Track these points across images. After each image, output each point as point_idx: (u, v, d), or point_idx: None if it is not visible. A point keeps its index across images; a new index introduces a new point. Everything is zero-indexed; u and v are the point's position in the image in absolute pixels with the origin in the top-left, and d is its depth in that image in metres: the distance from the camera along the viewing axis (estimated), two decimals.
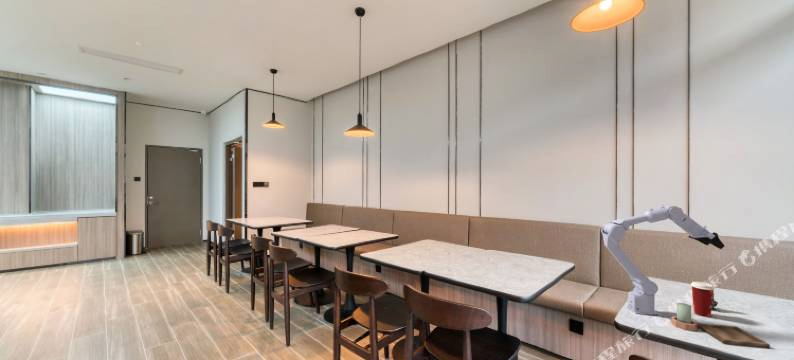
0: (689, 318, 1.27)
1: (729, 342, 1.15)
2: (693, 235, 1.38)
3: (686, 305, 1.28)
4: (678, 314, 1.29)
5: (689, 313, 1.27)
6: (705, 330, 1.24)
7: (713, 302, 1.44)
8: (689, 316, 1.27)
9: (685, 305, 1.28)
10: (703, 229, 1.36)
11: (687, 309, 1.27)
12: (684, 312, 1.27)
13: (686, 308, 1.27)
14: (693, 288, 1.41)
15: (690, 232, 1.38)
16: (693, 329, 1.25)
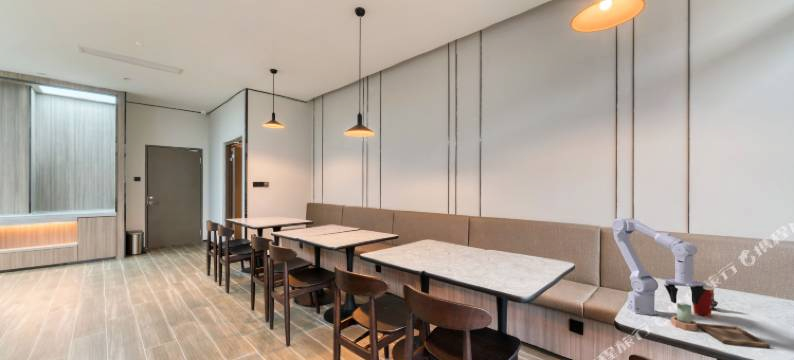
0: (689, 318, 1.27)
1: (729, 342, 1.15)
2: None
3: (686, 305, 1.28)
4: (678, 314, 1.29)
5: (689, 313, 1.27)
6: (705, 330, 1.24)
7: (713, 302, 1.44)
8: (689, 316, 1.27)
9: (685, 305, 1.28)
10: (680, 281, 1.28)
11: (687, 309, 1.27)
12: (684, 312, 1.27)
13: (686, 308, 1.27)
14: None
15: None
16: (693, 329, 1.25)
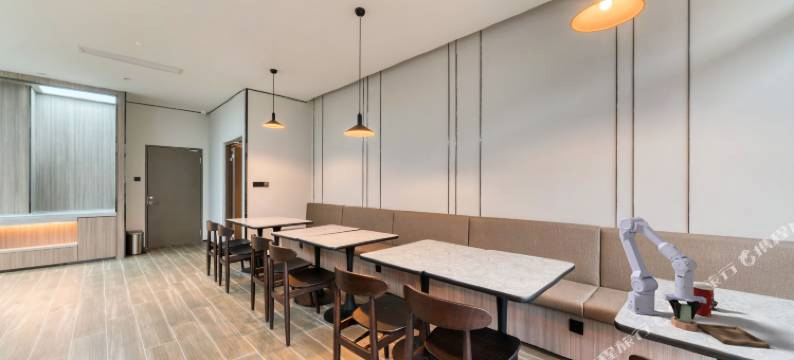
0: (689, 318, 1.27)
1: (729, 342, 1.15)
2: None
3: (686, 305, 1.28)
4: None
5: (689, 313, 1.27)
6: (705, 330, 1.24)
7: (713, 302, 1.44)
8: (689, 316, 1.27)
9: (685, 305, 1.28)
10: (680, 296, 1.28)
11: (687, 309, 1.27)
12: (684, 312, 1.27)
13: (686, 308, 1.27)
14: None
15: None
16: (693, 329, 1.25)
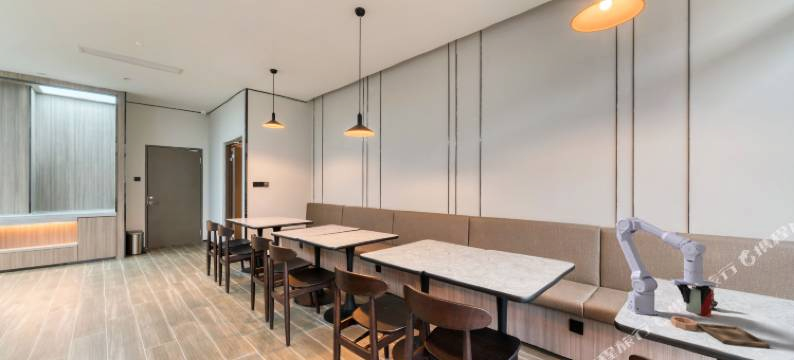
0: (699, 303, 1.25)
1: (729, 342, 1.15)
2: None
3: (695, 290, 1.26)
4: None
5: (699, 298, 1.25)
6: (705, 330, 1.24)
7: (713, 302, 1.44)
8: (699, 301, 1.25)
9: (694, 290, 1.26)
10: (689, 281, 1.26)
11: (697, 293, 1.25)
12: (693, 297, 1.25)
13: (696, 293, 1.25)
14: (693, 288, 1.41)
15: None
16: (693, 329, 1.25)
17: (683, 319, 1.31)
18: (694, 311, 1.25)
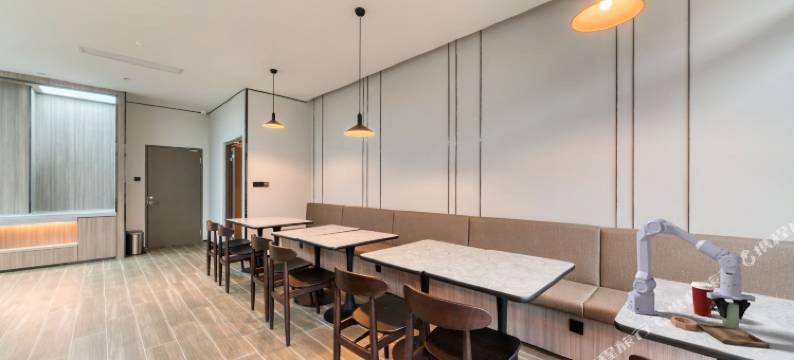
0: (737, 317, 1.18)
1: (729, 342, 1.15)
2: None
3: (733, 304, 1.20)
4: None
5: (737, 312, 1.18)
6: (705, 330, 1.24)
7: (713, 302, 1.44)
8: (737, 315, 1.18)
9: (732, 304, 1.20)
10: (726, 294, 1.19)
11: (735, 307, 1.18)
12: (731, 311, 1.19)
13: (734, 307, 1.18)
14: (693, 288, 1.41)
15: None
16: (693, 329, 1.25)
17: (683, 319, 1.31)
18: (732, 326, 1.19)
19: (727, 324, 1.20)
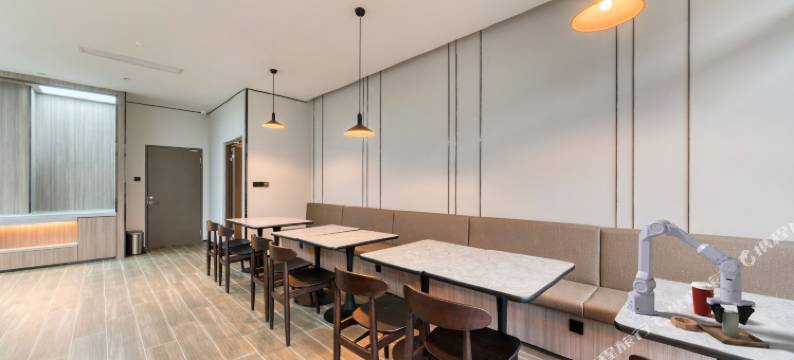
0: (737, 326, 1.18)
1: (729, 342, 1.15)
2: None
3: (733, 312, 1.20)
4: (724, 322, 1.21)
5: (737, 321, 1.18)
6: (705, 330, 1.24)
7: None
8: (737, 324, 1.18)
9: (731, 313, 1.20)
10: (726, 300, 1.19)
11: (735, 316, 1.18)
12: (731, 320, 1.19)
13: (734, 316, 1.18)
14: (693, 288, 1.41)
15: None
16: (693, 329, 1.25)
17: (683, 319, 1.31)
18: (732, 335, 1.19)
19: (727, 333, 1.20)
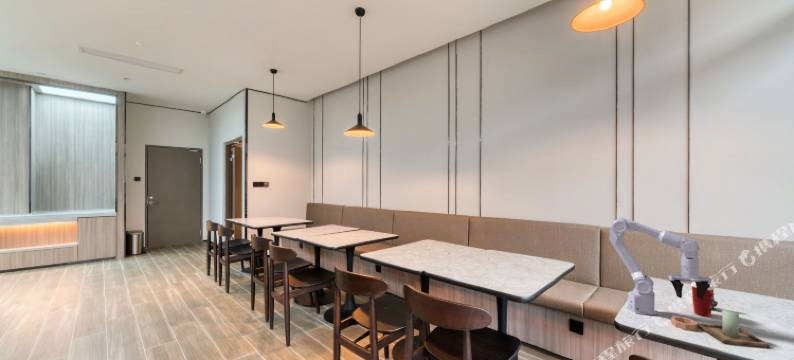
0: (737, 327, 1.18)
1: (729, 342, 1.15)
2: None
3: (733, 313, 1.20)
4: (724, 322, 1.21)
5: (737, 321, 1.18)
6: (705, 330, 1.24)
7: (713, 302, 1.44)
8: (737, 324, 1.18)
9: (732, 313, 1.20)
10: (685, 277, 1.32)
11: (735, 317, 1.18)
12: (731, 320, 1.19)
13: (734, 316, 1.18)
14: (693, 288, 1.41)
15: None
16: (693, 329, 1.25)
17: (683, 319, 1.31)
18: (732, 335, 1.19)
19: (727, 333, 1.20)
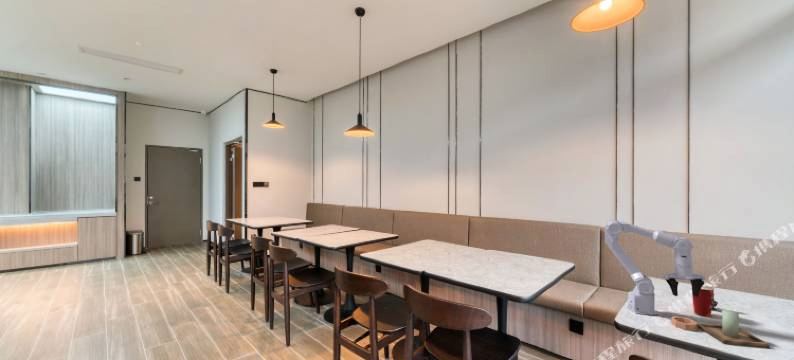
0: (737, 327, 1.18)
1: (729, 342, 1.15)
2: None
3: (733, 313, 1.20)
4: (724, 322, 1.21)
5: (737, 321, 1.18)
6: (705, 330, 1.24)
7: (713, 302, 1.44)
8: (737, 324, 1.18)
9: (731, 313, 1.20)
10: (680, 275, 1.34)
11: (735, 317, 1.18)
12: (731, 320, 1.19)
13: (734, 316, 1.18)
14: None
15: None
16: (693, 329, 1.25)
17: (683, 319, 1.31)
18: (732, 335, 1.19)
19: (727, 333, 1.20)
